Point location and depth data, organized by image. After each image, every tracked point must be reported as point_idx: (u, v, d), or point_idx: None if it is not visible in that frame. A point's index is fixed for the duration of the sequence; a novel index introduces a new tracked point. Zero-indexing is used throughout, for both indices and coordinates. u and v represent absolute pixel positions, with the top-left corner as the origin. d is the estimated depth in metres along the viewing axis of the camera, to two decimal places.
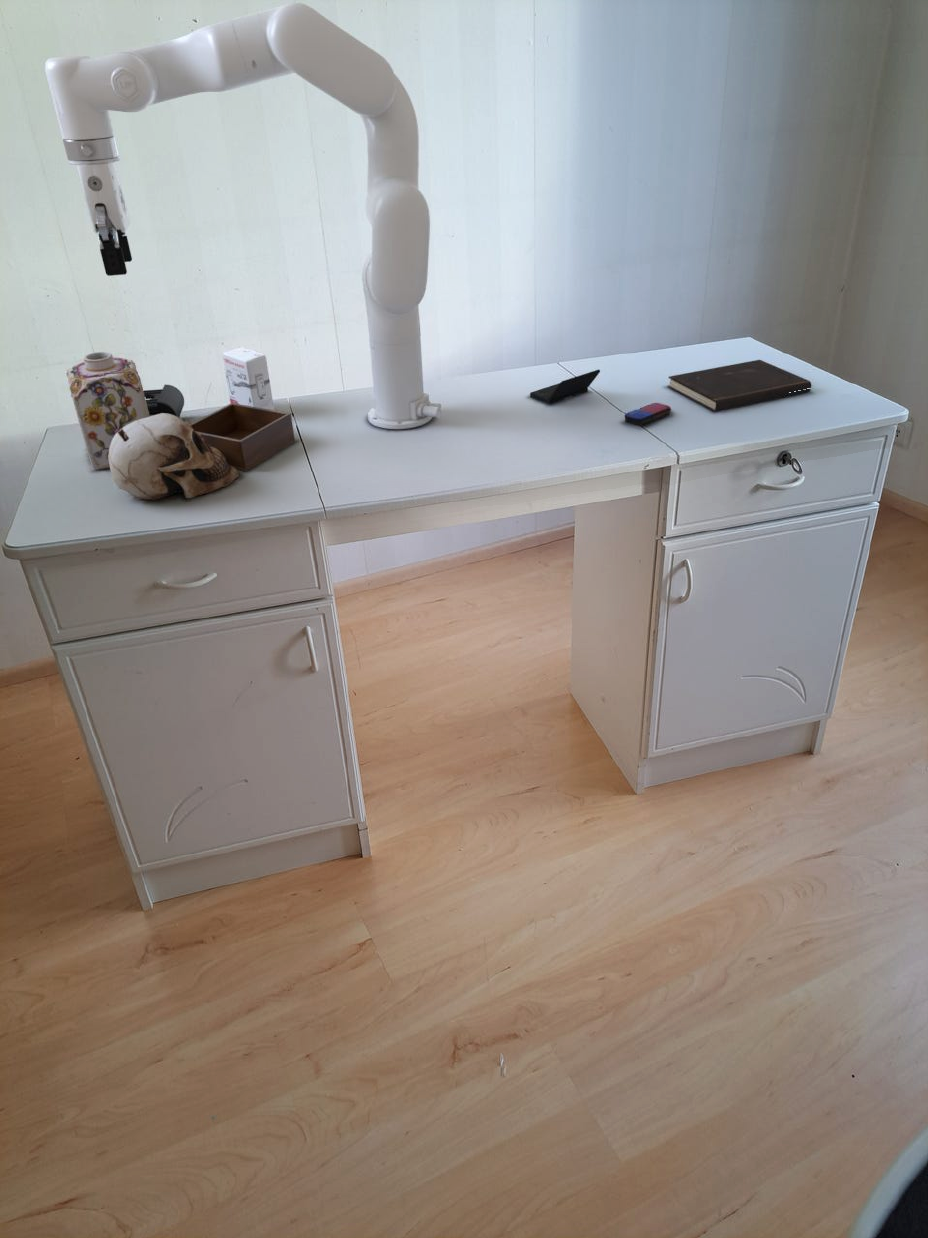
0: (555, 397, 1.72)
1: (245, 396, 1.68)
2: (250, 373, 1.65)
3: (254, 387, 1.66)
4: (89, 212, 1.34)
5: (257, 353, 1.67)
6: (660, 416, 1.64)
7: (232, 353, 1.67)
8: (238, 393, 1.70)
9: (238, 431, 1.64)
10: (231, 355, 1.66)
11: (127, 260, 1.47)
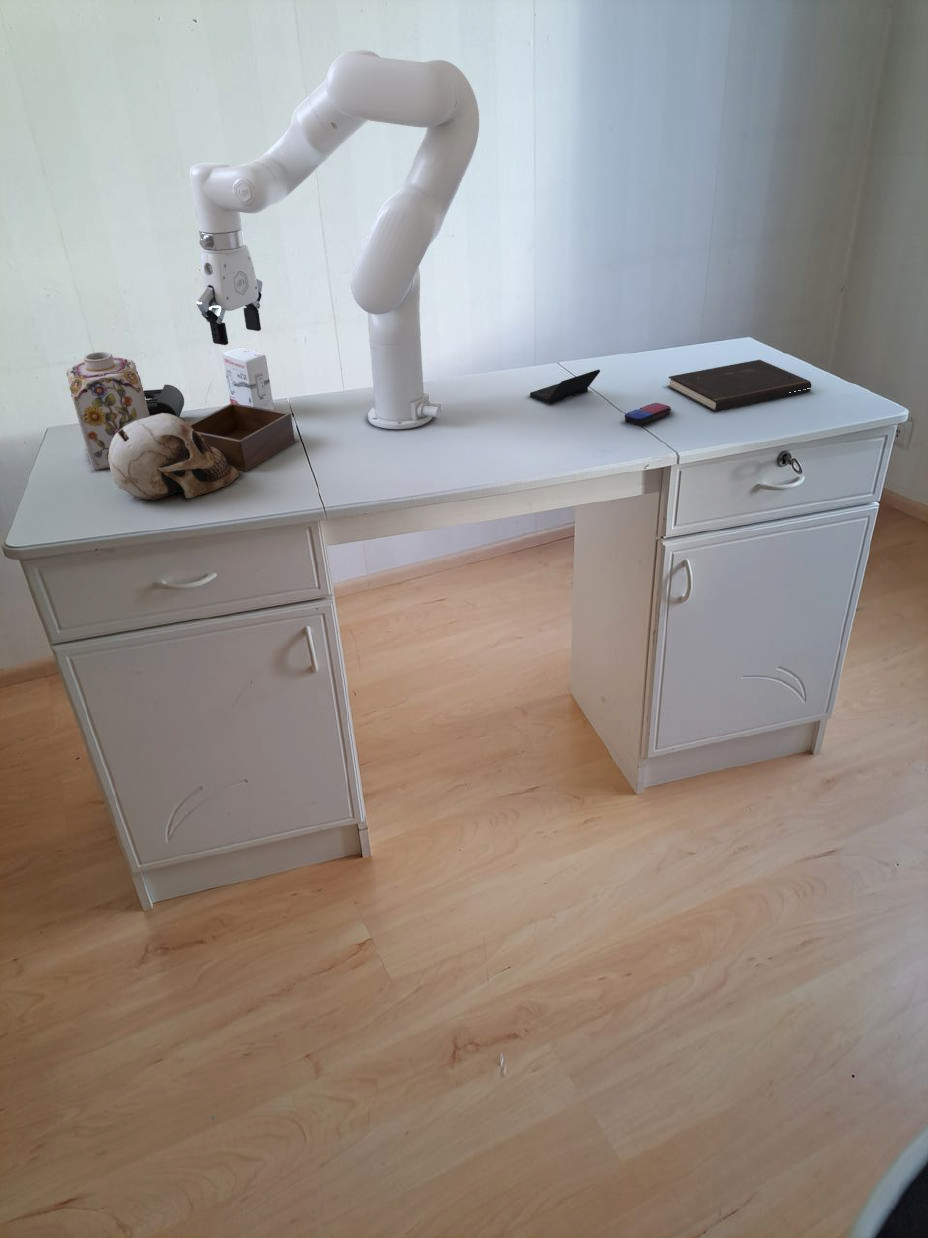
0: (555, 397, 1.72)
1: (245, 396, 1.68)
2: (250, 372, 1.65)
3: (254, 387, 1.66)
4: (204, 291, 1.57)
5: (257, 353, 1.67)
6: (660, 416, 1.64)
7: (233, 353, 1.67)
8: (238, 393, 1.70)
9: (238, 431, 1.64)
10: (231, 355, 1.66)
11: (256, 329, 1.68)
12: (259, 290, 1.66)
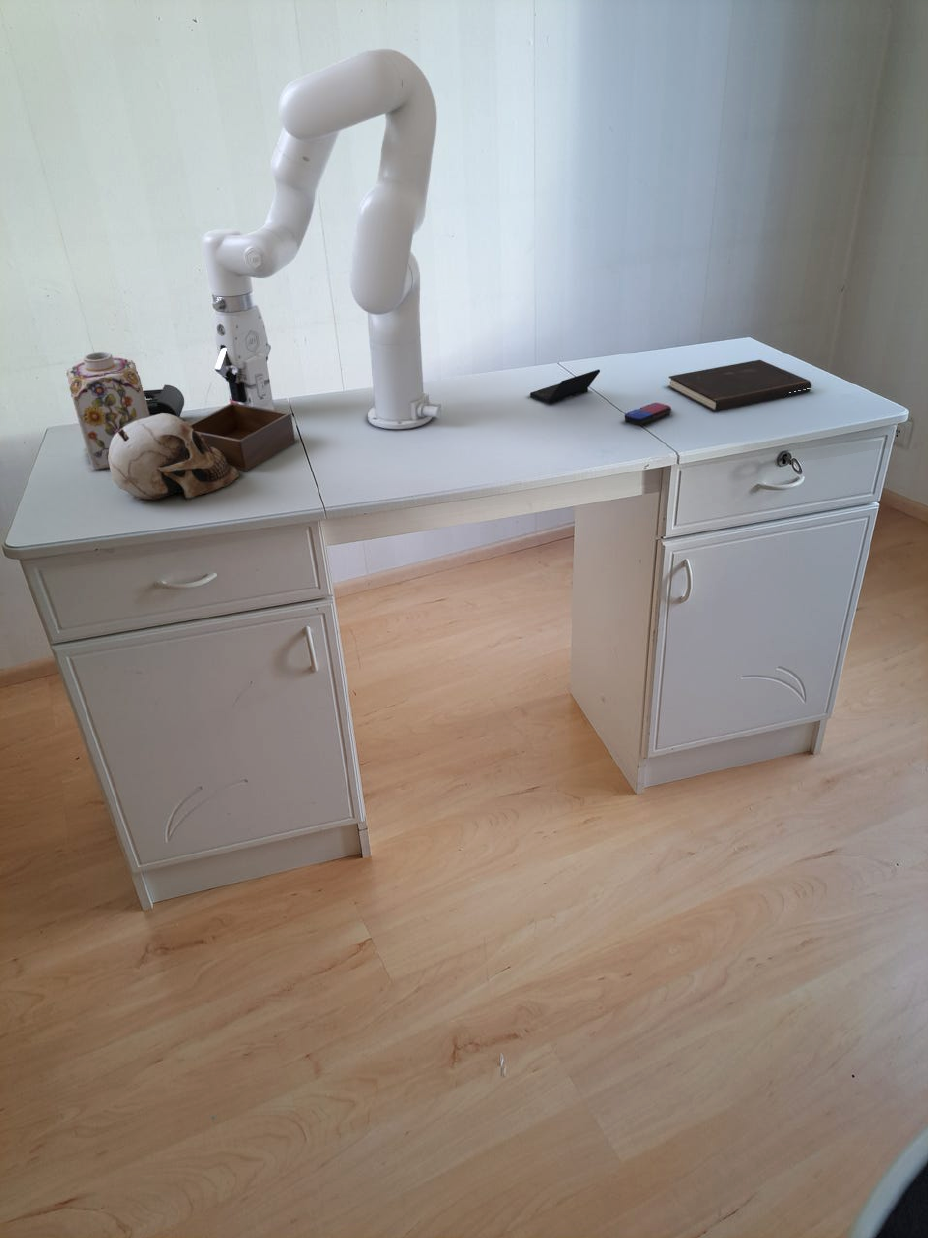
0: (555, 397, 1.72)
1: None
2: (250, 372, 1.65)
3: (254, 387, 1.66)
4: (217, 350, 1.63)
5: None
6: (660, 416, 1.64)
7: None
8: None
9: (238, 431, 1.64)
10: None
11: None
12: None
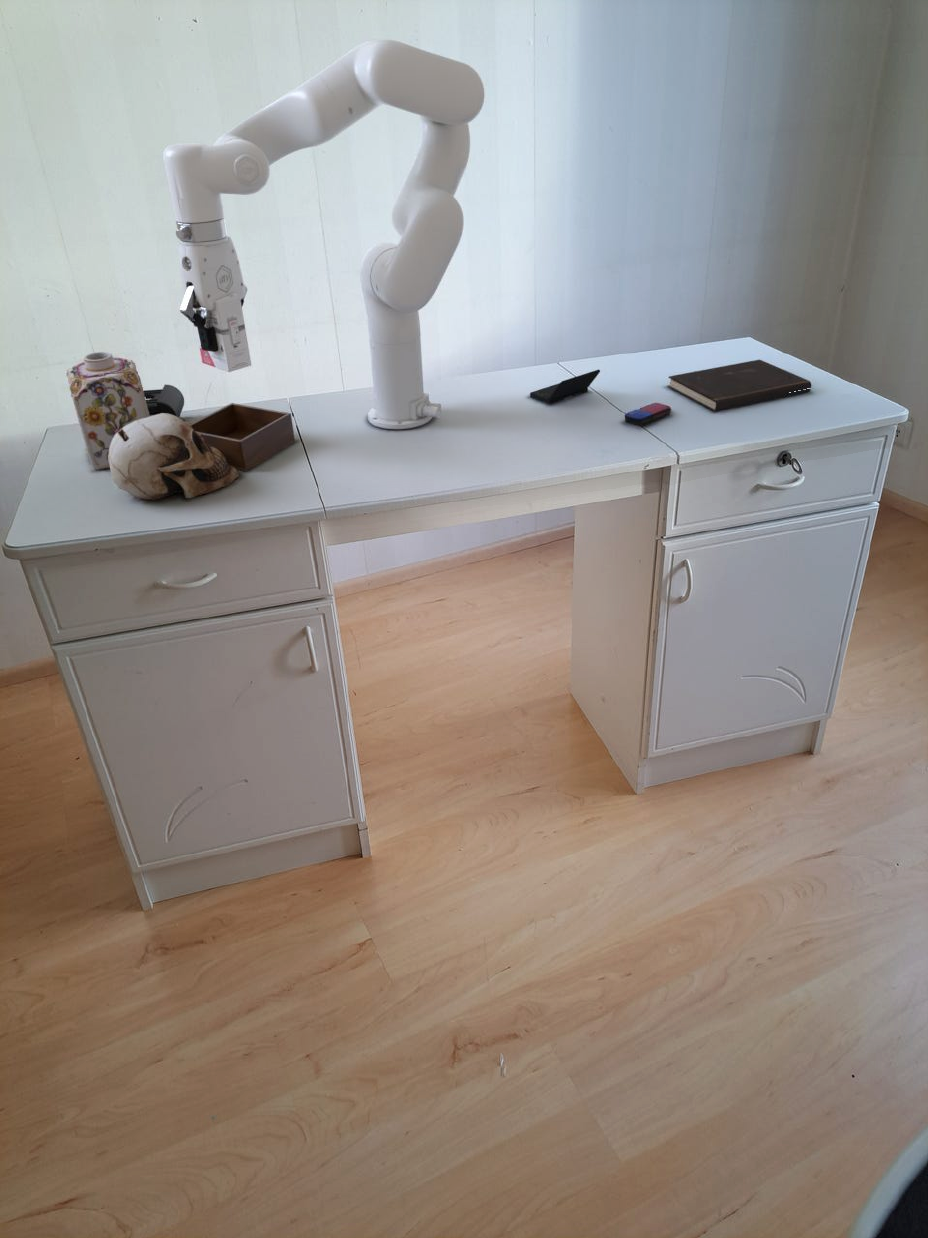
0: (555, 397, 1.72)
1: None
2: (222, 315, 1.41)
3: (227, 333, 1.43)
4: (183, 288, 1.40)
5: None
6: (660, 416, 1.64)
7: None
8: None
9: (238, 431, 1.64)
10: None
11: None
12: None
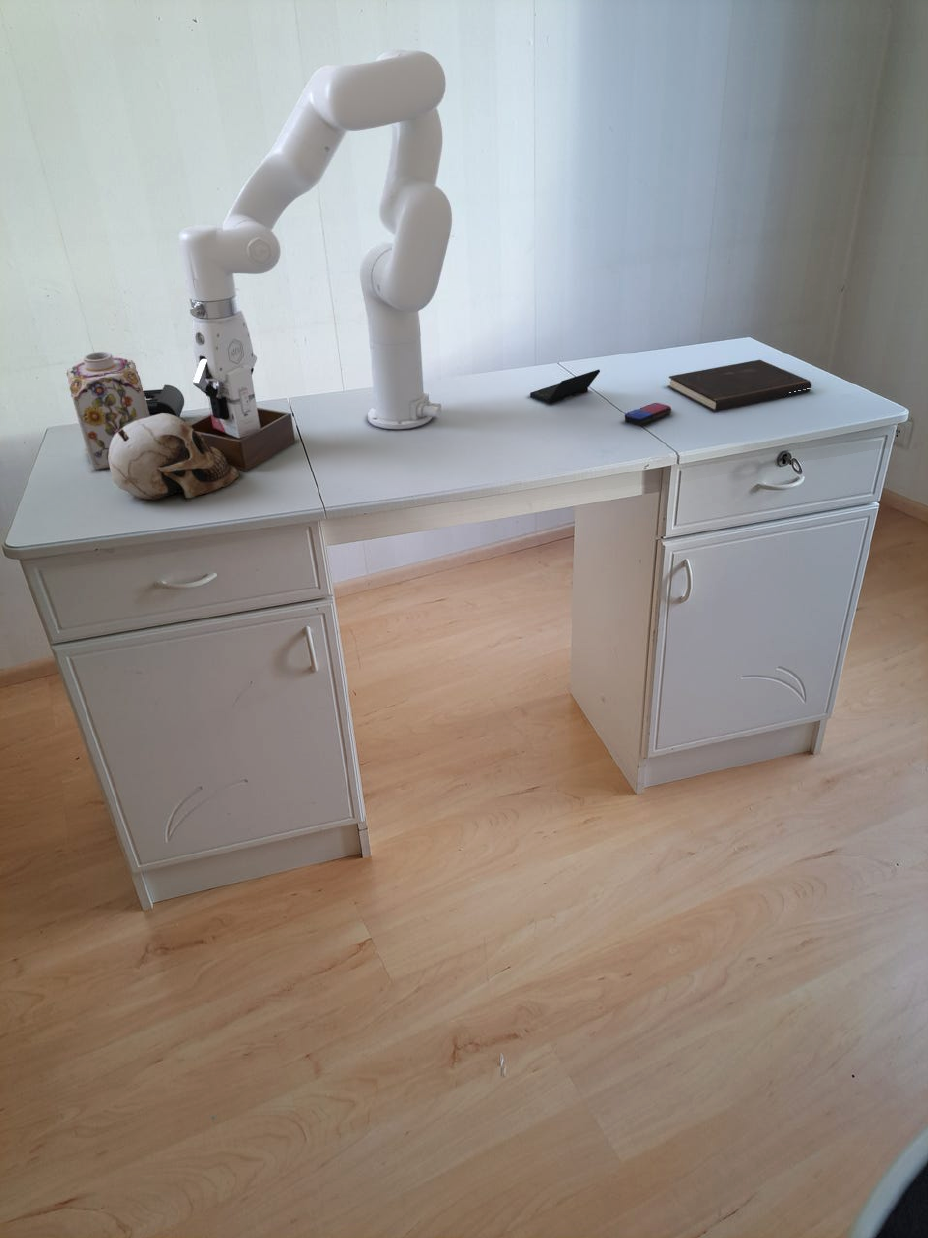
0: (555, 397, 1.72)
1: None
2: (233, 386, 1.47)
3: (238, 403, 1.49)
4: (196, 361, 1.45)
5: None
6: (660, 416, 1.64)
7: None
8: None
9: None
10: None
11: None
12: None
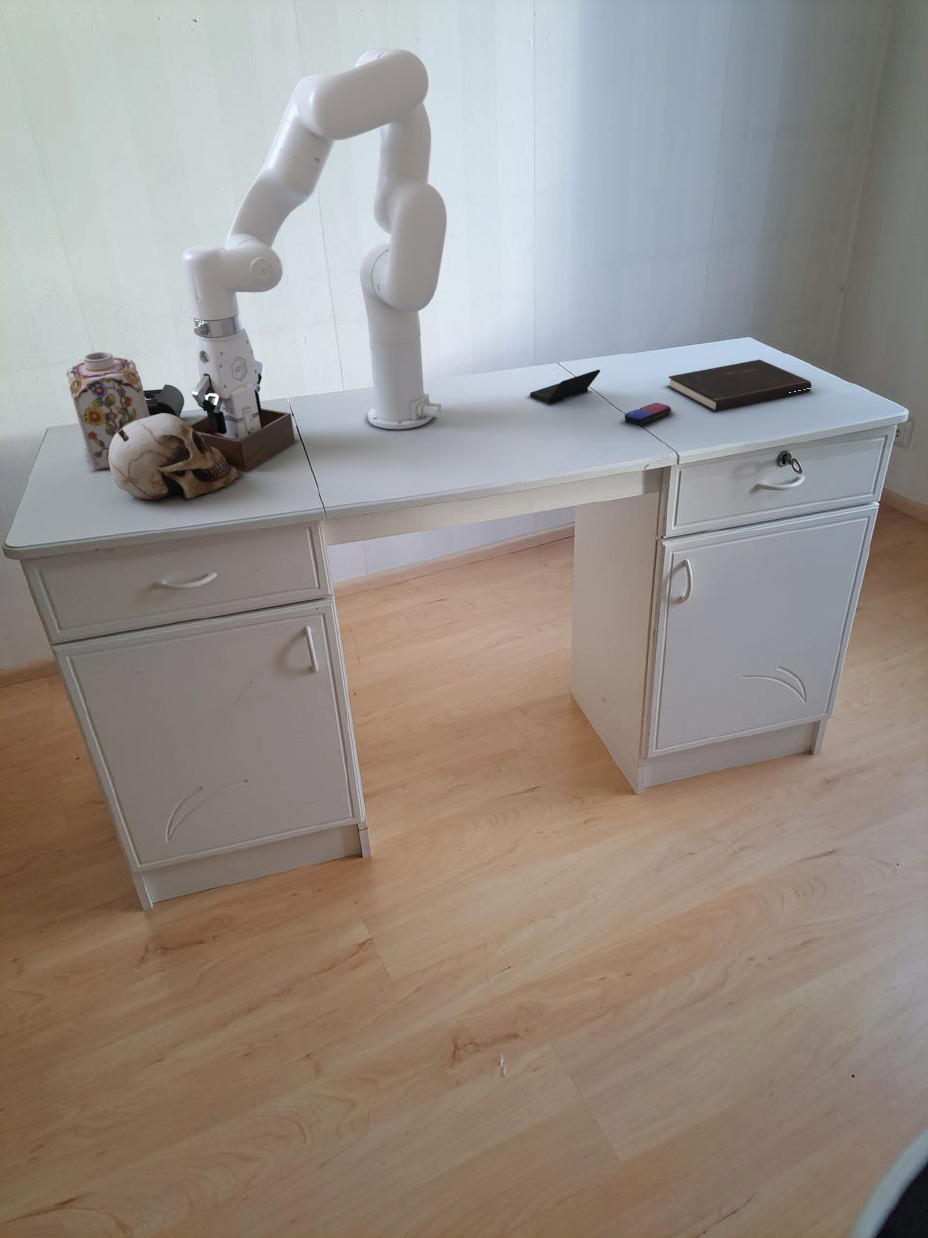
0: (555, 397, 1.72)
1: (231, 430, 1.52)
2: (237, 405, 1.49)
3: (241, 421, 1.51)
4: (200, 379, 1.47)
5: None
6: (660, 416, 1.64)
7: None
8: None
9: None
10: None
11: None
12: (259, 372, 1.56)
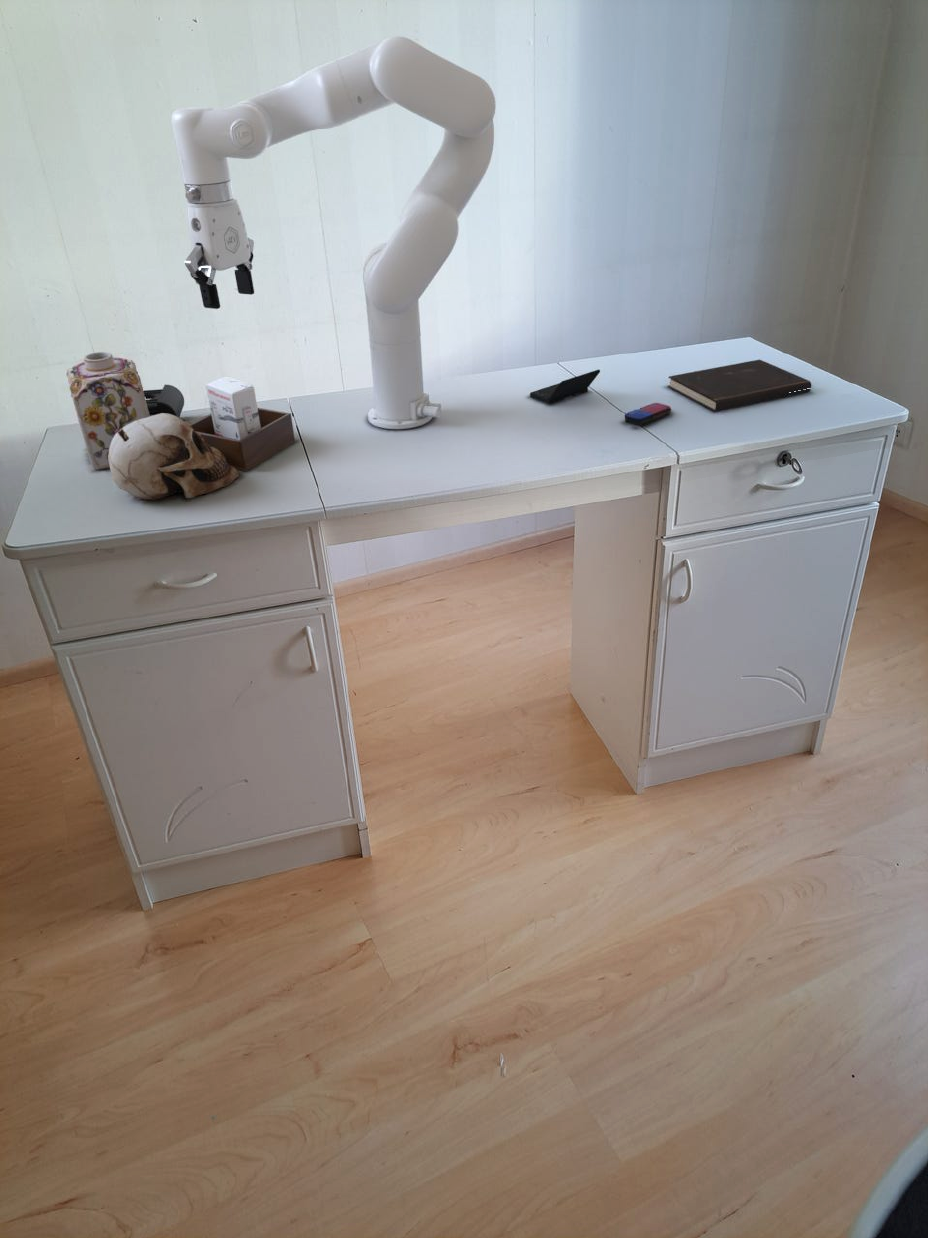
0: (555, 397, 1.72)
1: (231, 430, 1.52)
2: (237, 405, 1.49)
3: (241, 421, 1.51)
4: (192, 249, 1.45)
5: (244, 384, 1.51)
6: (660, 416, 1.64)
7: (217, 383, 1.52)
8: (224, 428, 1.54)
9: None
10: (216, 386, 1.51)
11: (249, 293, 1.56)
12: (251, 250, 1.54)
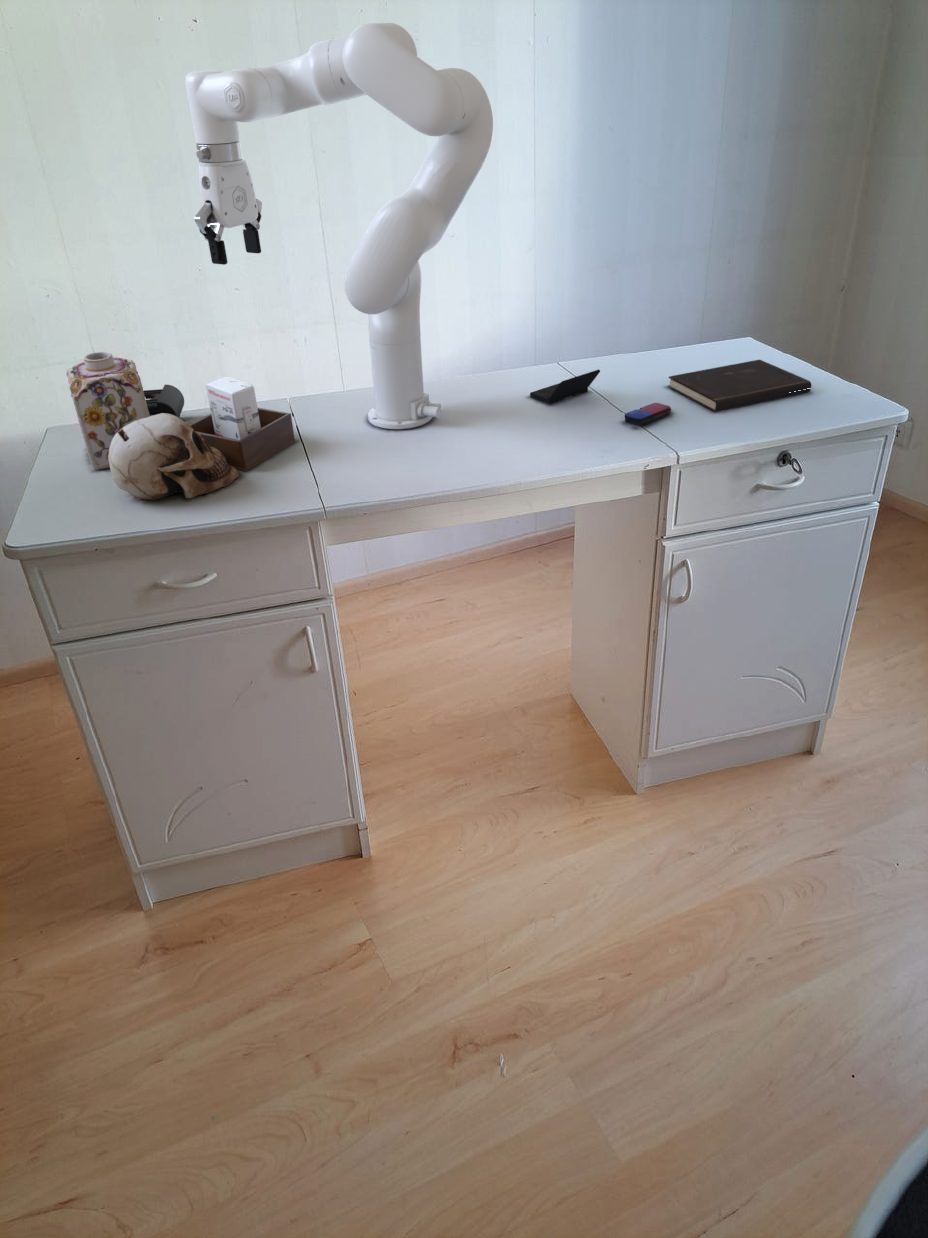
0: (555, 397, 1.72)
1: (231, 430, 1.52)
2: (237, 405, 1.49)
3: (241, 421, 1.51)
4: (202, 207, 1.53)
5: (244, 384, 1.51)
6: (660, 416, 1.64)
7: (217, 383, 1.52)
8: (224, 428, 1.54)
9: None
10: (216, 386, 1.51)
11: (256, 252, 1.63)
12: (259, 211, 1.62)
